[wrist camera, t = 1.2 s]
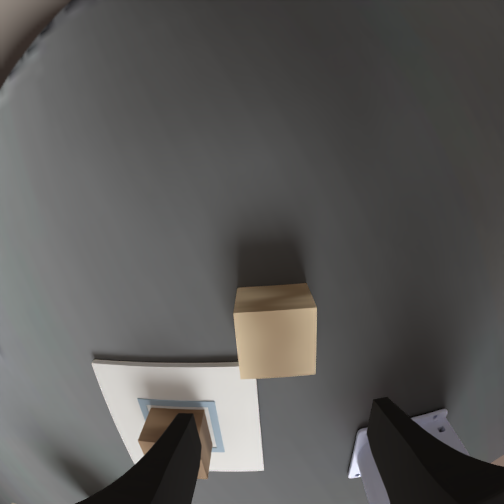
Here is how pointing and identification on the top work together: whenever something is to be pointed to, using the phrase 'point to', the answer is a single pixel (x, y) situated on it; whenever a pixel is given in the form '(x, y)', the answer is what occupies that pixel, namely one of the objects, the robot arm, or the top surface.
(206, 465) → the walnut block
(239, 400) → the board
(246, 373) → the maple block
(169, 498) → the robot arm
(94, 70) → the top surface
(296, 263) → the top surface
